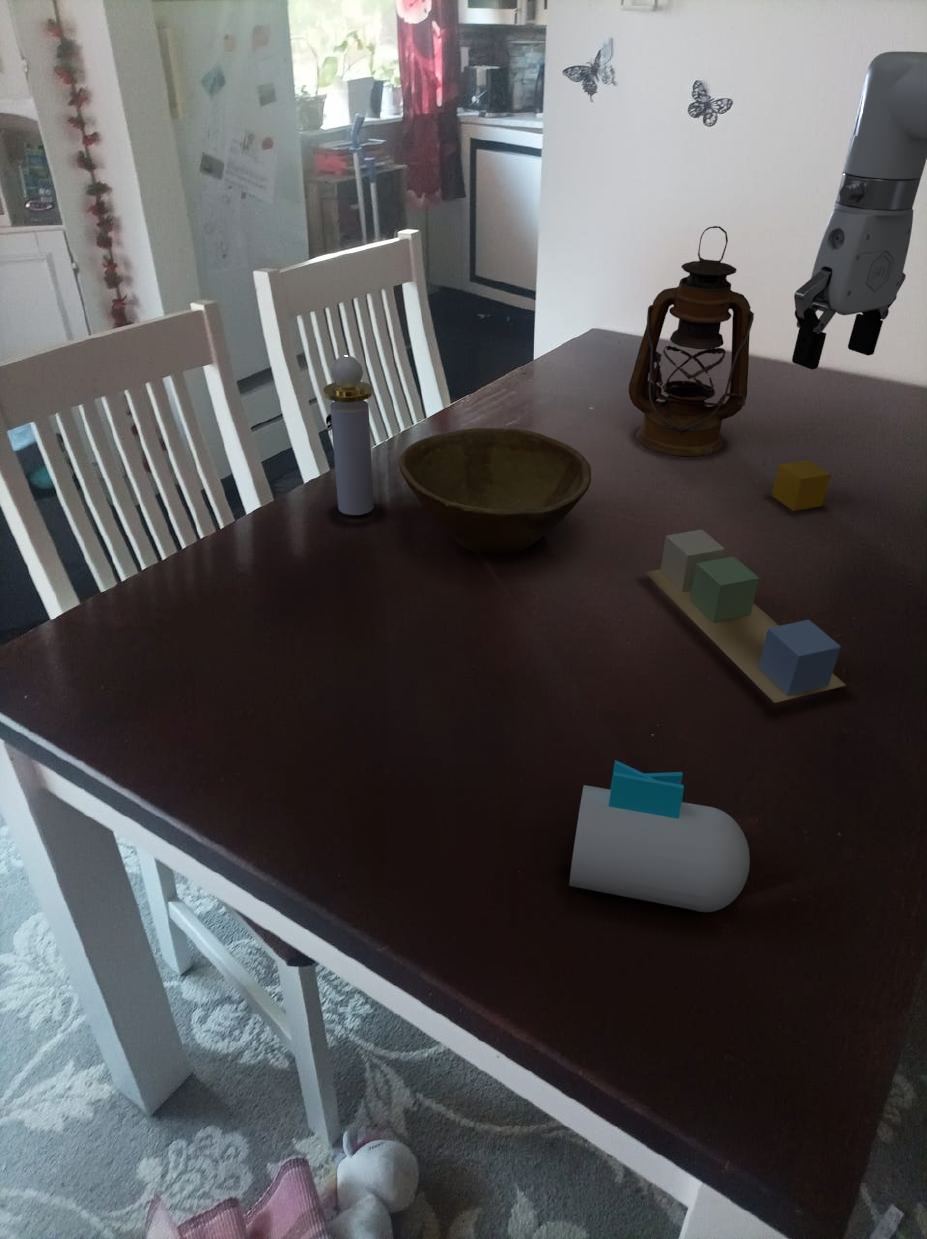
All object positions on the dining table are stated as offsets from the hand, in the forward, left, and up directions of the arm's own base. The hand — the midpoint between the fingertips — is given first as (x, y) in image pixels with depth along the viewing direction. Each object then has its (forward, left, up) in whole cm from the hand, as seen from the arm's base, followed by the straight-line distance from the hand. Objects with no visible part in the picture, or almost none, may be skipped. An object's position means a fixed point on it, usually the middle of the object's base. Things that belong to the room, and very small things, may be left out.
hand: (832, 358), depth 99 cm
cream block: (+21, +10, -20) cm, 31 cm away
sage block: (+21, +16, -20) cm, 33 cm away
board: (+21, +19, -21) cm, 35 cm away
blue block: (+21, +29, -20) cm, 41 cm away
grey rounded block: (+44, +43, -21) cm, 65 cm away
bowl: (+38, -7, -21) cm, 44 cm away
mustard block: (-4, -4, -21) cm, 21 cm away
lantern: (0, -27, -21) cm, 34 cm away
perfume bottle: (+52, -19, -21) cm, 59 cm away
